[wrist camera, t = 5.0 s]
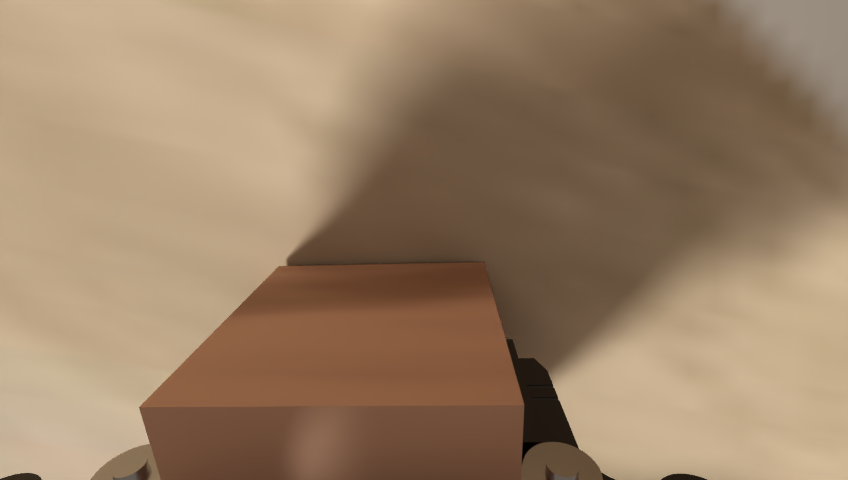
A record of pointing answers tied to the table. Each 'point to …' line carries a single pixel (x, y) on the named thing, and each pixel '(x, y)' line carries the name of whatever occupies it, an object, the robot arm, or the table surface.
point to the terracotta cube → (347, 382)
